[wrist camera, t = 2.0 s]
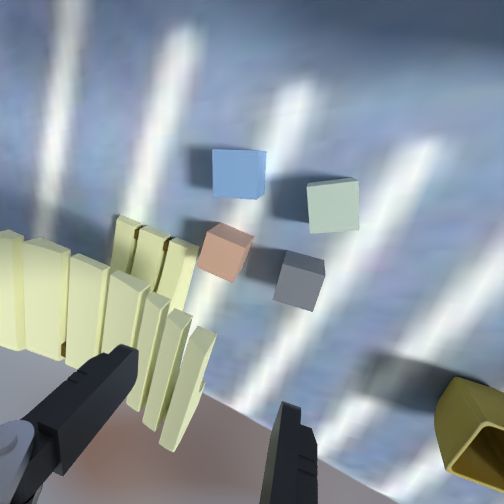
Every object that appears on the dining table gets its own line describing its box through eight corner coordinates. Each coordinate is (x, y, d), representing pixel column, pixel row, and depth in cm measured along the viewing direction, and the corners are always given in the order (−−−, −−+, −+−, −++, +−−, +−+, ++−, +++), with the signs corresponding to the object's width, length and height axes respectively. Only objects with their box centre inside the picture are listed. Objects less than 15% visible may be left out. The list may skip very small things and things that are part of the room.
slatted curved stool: (66, 281, 46) (-71, 349, 30) (70, 194, 40) (-101, 219, 23) (223, 350, 43) (167, 467, 27) (253, 268, 37) (204, 356, 21)
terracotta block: (221, 222, 36) (206, 231, 31) (254, 236, 35) (245, 248, 31) (211, 253, 38) (196, 266, 33) (242, 267, 37) (232, 282, 33)
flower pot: (416, 404, 38) (444, 472, 30) (444, 359, 35) (484, 422, 27) (480, 426, 37) (528, 502, 29) (516, 381, 34) (581, 453, 26)
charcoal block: (286, 249, 35) (282, 263, 30) (324, 260, 34) (325, 275, 30) (278, 282, 37) (272, 299, 32) (313, 292, 36) (312, 311, 32)
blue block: (226, 150, 33) (212, 149, 28) (266, 151, 32) (258, 150, 27) (226, 191, 34) (213, 196, 30) (264, 193, 33) (256, 199, 29)
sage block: (307, 182, 32) (306, 187, 27) (352, 177, 30) (358, 180, 26) (310, 223, 33) (310, 233, 29) (352, 219, 32) (359, 229, 27)
